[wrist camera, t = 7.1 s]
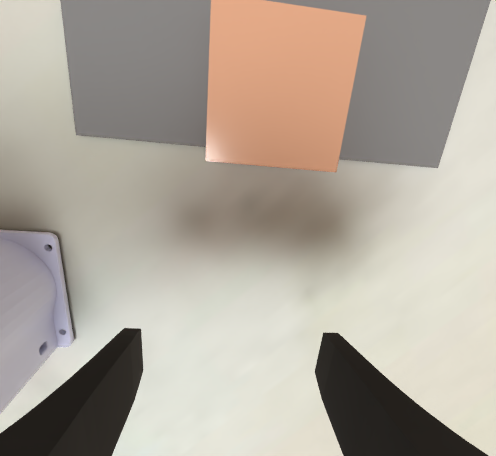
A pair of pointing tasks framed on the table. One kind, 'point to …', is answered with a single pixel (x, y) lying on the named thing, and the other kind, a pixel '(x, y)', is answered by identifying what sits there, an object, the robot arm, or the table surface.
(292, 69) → the peach square slab
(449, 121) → the rubber mat
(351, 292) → the table surface
